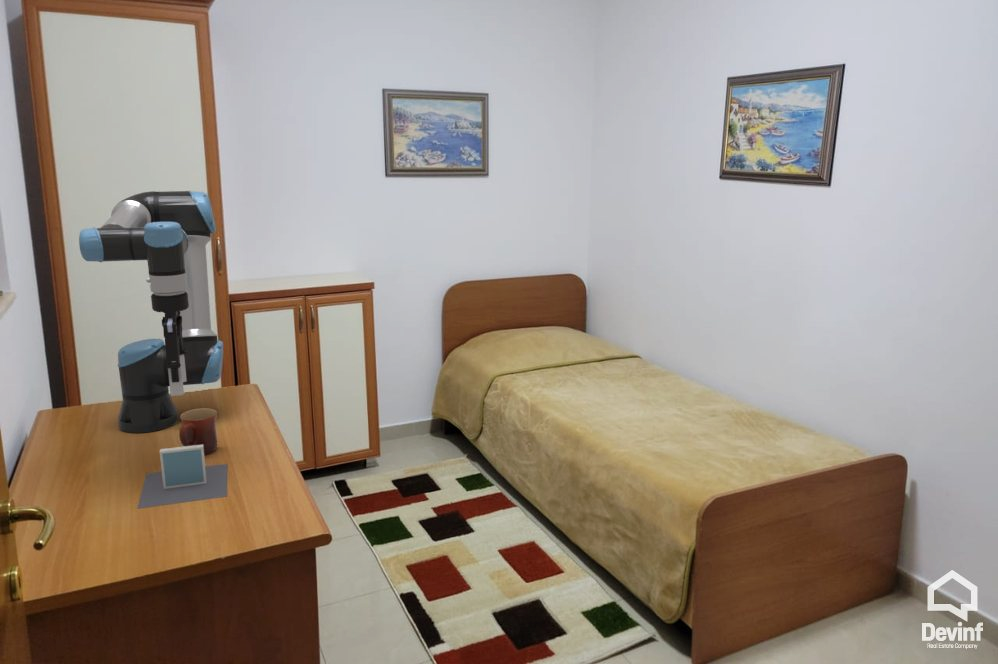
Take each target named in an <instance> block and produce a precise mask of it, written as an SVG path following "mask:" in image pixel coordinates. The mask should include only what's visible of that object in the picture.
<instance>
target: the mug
mask: <svg viewBox="0 0 998 664" xmlns="http://www.w3.org/2000/svg"><path fill="white" fill-rule="evenodd" d="M217 417H218V411H217V410H216V409H213V408H210V407H209V408H207V407H206V408H205V407H202V408H193V409H190V410H186V411H184V412H182V413H181V414H180V415H179V419H180V421H181V423H182V425H181V426H180V428H179V431H178V436H179V440H180V443H181V445H182V447H184V446H193V445H202V444H203V446H204V456H206V455H207V456H208V455H210V454H212V453H214V452H216V450H217V448H218V438H217V437H218V436H217V428H216V427H217V426H216V421H217Z"/></svg>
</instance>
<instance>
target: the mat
mask: <svg viewBox="0 0 998 664" xmlns="http://www.w3.org/2000/svg"><path fill="white" fill-rule="evenodd" d="M228 465H229V464H228V463H224V464H215V465H205V467H206V478H207V483H206V484H198V485H190V486H182V487H175V488H167V489H164V487H163V478H162V471H158V472H157V471H156V472H148V473H145V474H146V475H145V479H144V482H143V485H142V488H141V494H140V497H139V500H138V503H137V504H138V505H137V509H145V508H147V509H148V508H152V507H153V508H155V507H159V506H160V507H161V506H168V505H175V504H183V503H190V502H197V501H205V500H211V499H217V498H218V499H220V498H226V497H228V467H229V466H228Z"/></svg>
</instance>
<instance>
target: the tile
mask: <svg viewBox="0 0 998 664" xmlns="http://www.w3.org/2000/svg"><path fill="white" fill-rule="evenodd" d="M205 458H206V457H205V455H204V446H203V444H202V445H193V446H177V447H176V446H175V447H170V448H160V449H159V459H160V468H161V469H160V470H161V472H162V478H163V487H164V489H167V488H175V487H182V486H190V485H198V484H206V483H207V478H206V467H205V466H206V459H205Z"/></svg>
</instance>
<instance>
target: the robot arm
mask: <svg viewBox="0 0 998 664" xmlns="http://www.w3.org/2000/svg"><path fill="white" fill-rule="evenodd" d="M211 203H212V202H211V200H210V197H209V196H208V193H206V192H204V191H191V190H183V191H182V190H178V191H175V190H174V191H173V190H172V191H171V190H170V191H144V192H140V193H135V194H134V195H131V196H127V197H126V198H124V199H123V200H120V201H119V202H118V203H116V204H115V206H113V209H112V210H111V216H110V217H109V218H108V219H107V220H106V221H105V223H104V224H102V225H101V226H100V227H98V228H97V227H92V228H90V227H89V228H82V229H81V230H80V232H79V237H78V243H79V244H78V245H79V246H78V247H79V251H80V255H81V257H82V259H83V260H85V261H86V262H96V263H97V262H99V263H103V262H124V261H127V262H128V261H129V262H130V261H147V268H148V269H147V270H148V278H146V281H145V282H146V283H150V284H149V288H150V292H151V296H150V301H151V309H152V311H154V312H156V313H164V316H163V317H162V318H161V326H162V328H163V330H162V331H163V338H164V340H163V339H162V338H147V339H142V340H137V341H134V342H130V343H128V344H125V345H124V346H122V347H121V348H120V349H119V350H118V352H117V363H118V364H117V368H118V372H119V379H120V388H121V396H122V401H121V406H120V410H119V413H118V417H117V422H118V428H119V430H120V431H123V432H126V433H133V434H136V433H137V434H138V433H141V434H143V433H150V432H151V433H152V432H155V431H157V432H158V431H161V430H163V429H166V428H169V427H172V426H174V425H175V424H177V422H178V421H179V413H178V410H177V407H176V405H175V403H174V401H173V398H172V397H175V396H184V395H185V389H184V386H189V385H205V384H212V383H216V382H218V381H220V379H221V376H222V371H223V370H222V369H223V365H224V364H223V363H224V361H223V360H224V342H223V341H221V340H218V334H217V333H216V332H214V331H213V330H212V324H211V323H212V322H211V309H210V293H209V280H208V279H209V278H208V262H207V247H206V246H207V245H208V243H209V242H210V241H211V240H212V236H211V234H214V233H216V232H217V228H216V222H215V221H216V220H215V217H214V212H213V208H212V204H211ZM169 391H170V393H169Z"/></svg>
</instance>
